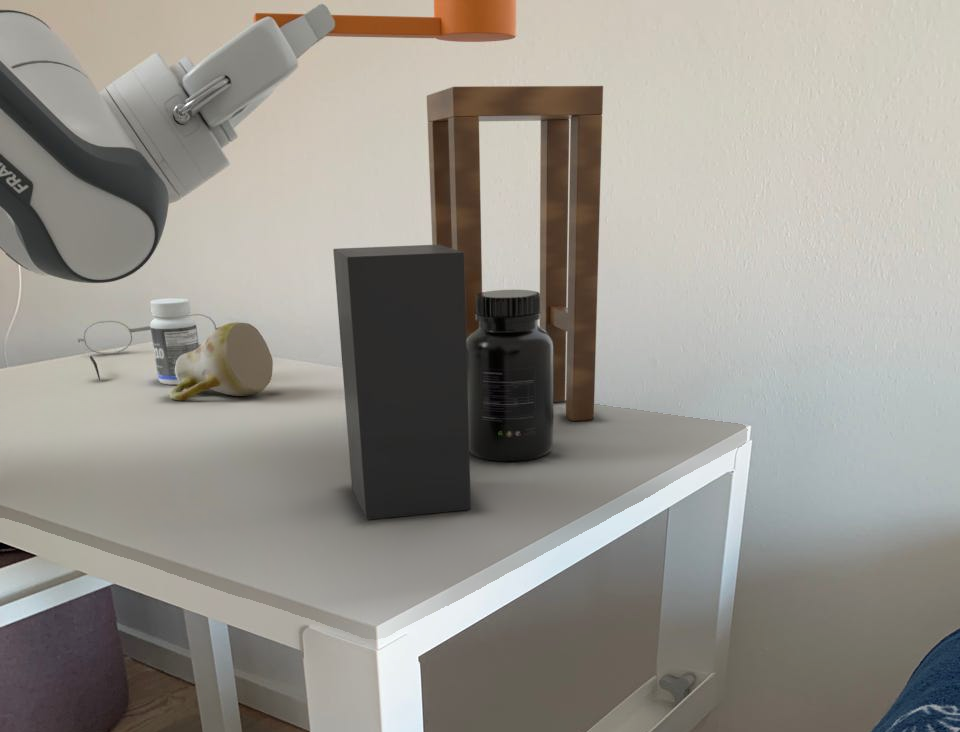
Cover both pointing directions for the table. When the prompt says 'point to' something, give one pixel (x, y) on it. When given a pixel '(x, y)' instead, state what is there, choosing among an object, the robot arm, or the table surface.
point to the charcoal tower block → (405, 377)
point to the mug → (225, 364)
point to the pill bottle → (171, 335)
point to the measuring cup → (428, 22)
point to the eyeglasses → (129, 342)
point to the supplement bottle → (509, 378)
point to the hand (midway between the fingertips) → (326, 18)
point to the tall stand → (461, 211)
